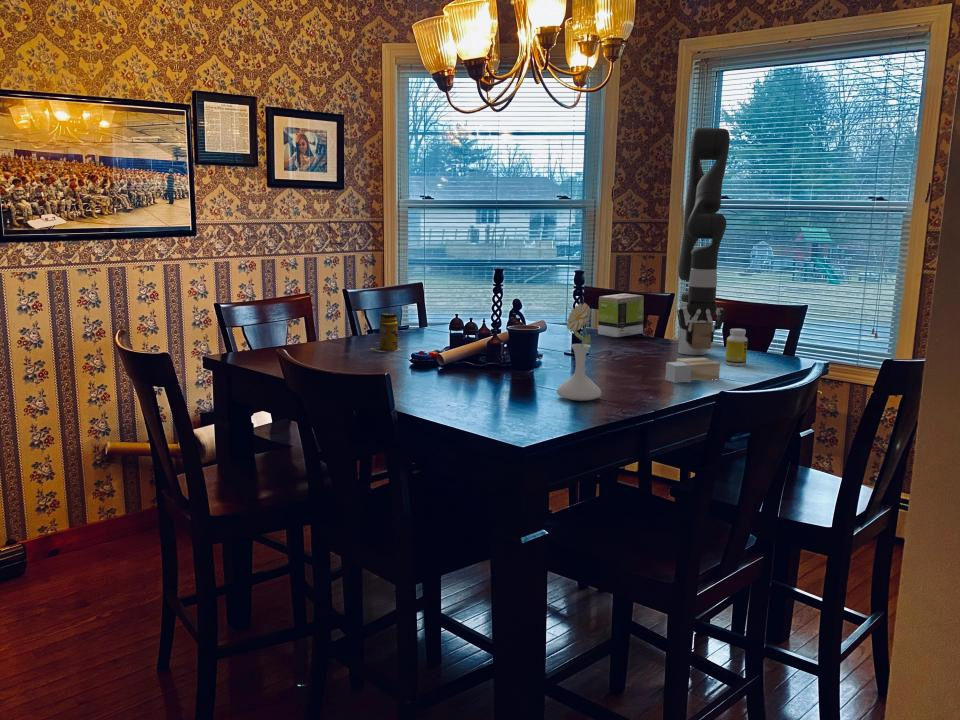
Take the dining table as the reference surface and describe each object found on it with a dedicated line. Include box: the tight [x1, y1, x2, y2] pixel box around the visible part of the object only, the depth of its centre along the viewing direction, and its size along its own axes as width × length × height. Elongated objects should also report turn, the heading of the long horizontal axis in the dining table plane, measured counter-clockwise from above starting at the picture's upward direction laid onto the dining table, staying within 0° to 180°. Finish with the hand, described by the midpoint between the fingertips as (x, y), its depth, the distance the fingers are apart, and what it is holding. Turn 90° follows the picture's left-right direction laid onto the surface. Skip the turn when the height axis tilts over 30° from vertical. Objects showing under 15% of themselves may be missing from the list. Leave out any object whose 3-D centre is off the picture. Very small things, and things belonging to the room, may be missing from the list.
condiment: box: [369, 312, 403, 353], centre depth 278 cm, size 7×8×12 cm
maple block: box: [675, 357, 721, 381], centre depth 241 cm, size 9×9×5 cm
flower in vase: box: [556, 302, 603, 402], centre depth 211 cm, size 13×11×25 cm
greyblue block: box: [664, 361, 691, 384], centre depth 236 cm, size 5×5×5 cm
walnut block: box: [688, 322, 712, 350], centre depth 239 cm, size 5×5×7 cm
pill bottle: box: [724, 328, 749, 367], centre depth 260 cm, size 6×6×11 cm
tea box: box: [597, 293, 645, 338], centre depth 316 cm, size 15×10×15 cm
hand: (699, 343), depth 240 cm, fingers closed on walnut block, 5 cm apart
